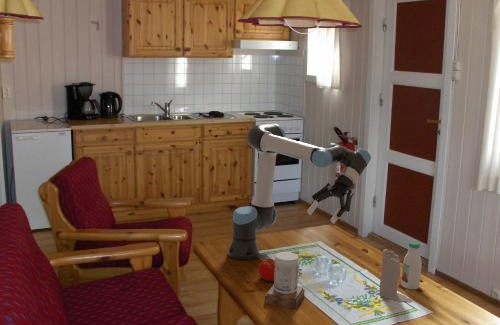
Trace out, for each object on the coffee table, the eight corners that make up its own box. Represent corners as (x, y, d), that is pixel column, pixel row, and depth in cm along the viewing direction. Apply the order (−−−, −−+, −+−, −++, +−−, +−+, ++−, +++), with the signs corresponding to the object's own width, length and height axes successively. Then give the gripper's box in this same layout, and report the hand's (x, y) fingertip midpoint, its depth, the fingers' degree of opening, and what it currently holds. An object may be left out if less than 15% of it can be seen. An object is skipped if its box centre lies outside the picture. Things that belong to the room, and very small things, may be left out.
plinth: (264, 302, 215) (265, 293, 215) (274, 290, 227) (274, 281, 227) (296, 309, 211) (296, 299, 210) (304, 295, 223) (304, 286, 222)
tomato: (261, 285, 232) (262, 266, 231) (254, 275, 243) (255, 256, 241) (284, 283, 235) (285, 264, 234) (276, 273, 246) (277, 255, 244)
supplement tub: (286, 283, 225) (287, 249, 222) (302, 291, 218) (304, 256, 215) (268, 288, 219) (270, 254, 216) (284, 297, 212) (286, 261, 209)
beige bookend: (409, 304, 219) (414, 257, 215) (376, 295, 226) (380, 250, 223) (414, 298, 225) (419, 252, 222) (382, 289, 232) (386, 245, 229)
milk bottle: (419, 284, 240) (424, 241, 236) (418, 291, 232) (423, 247, 229) (401, 281, 242) (405, 239, 238) (400, 288, 235) (404, 244, 231)
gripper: (372, 191, 227) (346, 231, 221) (329, 178, 246) (303, 214, 240) (366, 180, 223) (338, 220, 217) (322, 168, 242) (295, 205, 236)
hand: (320, 217), depth 228 cm, fingers open, 13 cm apart
